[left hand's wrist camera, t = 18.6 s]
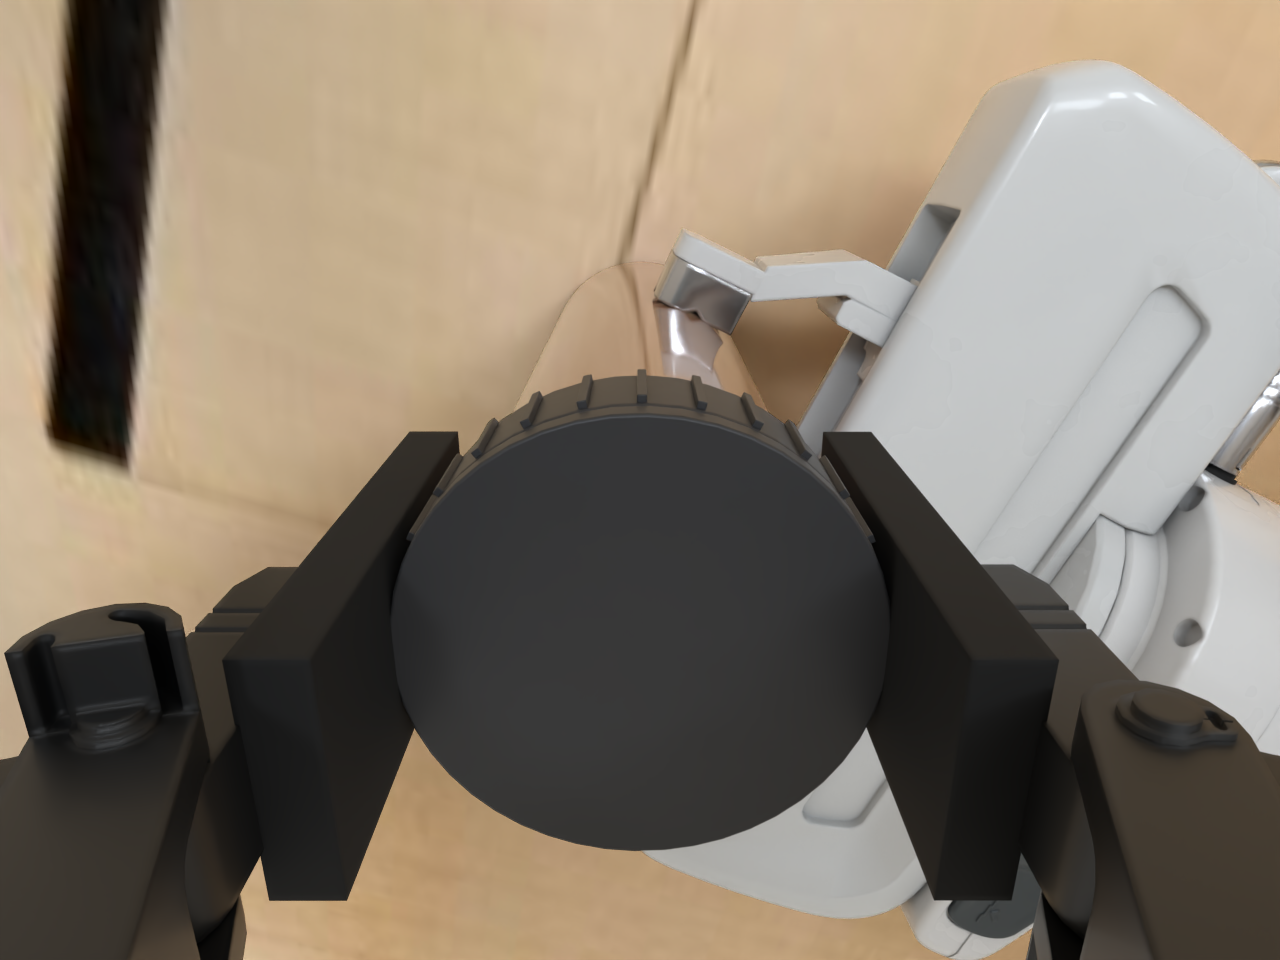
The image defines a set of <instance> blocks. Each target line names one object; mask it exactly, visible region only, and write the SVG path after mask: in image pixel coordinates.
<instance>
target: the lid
mask: <svg viewBox="0 0 1280 960" xmlns="http://www.w3.org/2000/svg"><path fill="white" fill-rule="evenodd" d="M433 494H434V495H431V497H430V499H429V500H428V502H427V504H426V505H425V507H424V509H423V510H422V512H421V514H420V515H419V517H418V518H417V520H416V522H415V523H414V525H413V527H412V528H411V530H410V532H409V534H408V536H407V538H406V539H407V540H409V541H411V544H410V546H409V548H408V550H407V552H406V554H405V556H404V558H403V560H402V563H401V566H400V570H399V573H398V576H397V580H396V583H395V586H394V590H393V596H392V603H391V610H390V623H391V632H392V642H393V650H394V659H395V668H396V676H397V683H398V690H399V693H400V696H401V699H402V702H403V705H404V707H405V709H406V711H407V713H408V715H409V717H410V719H411V722H412V724H413V726H414V728H415V730H416V731H417V733H418V734H419V736H420V737H421V739H422V740H423V742H424V743H425V745H426V746H427V748H428V749H429V751H430V752H431V754H432V755H433V756H434V757H435V758H436V760H437V761H438V762H439V763H440V764H441V765H442V766H443V768H444V769H445V770H446V771H447V772H448V773H449V774H450V775H451V776H452V777H453V778H454V779H455V780H456V781H457V782H458V783H459V784H461V785H462V786H463V787H464V788H465V789H466V790H467V791H468V792H470V793H471V794H472V795H473V796H475V797H476V798H478V799H479V800H480V801H482V802H483V803H485V804H486V805H488V806H489V807H490V808H492V809H493V810H495V811H497V812H498V813H500V814H502V815H504V816H506V817H508V818H509V819H511V820H513V821H515V822H517V823H519V824H521V825H523V826H525V827H528V828H530V829H533V830H535V831H538V832H540V833H543V834H545V835H548V836H551V837H554V838H558V839H561V840H565V841H568V842H572V843H575V844H580V845H586V846H592V847H598V848H603V849H614V850H628V851H650V850H669V849H676V848H683V847H691V846H696V845H700V844H704V843H709V842H713V841H717V840H721V839H724V838H727V837H730V836H733V835H735V834H738V833H741V832H744V831H746V830H749V829H752V828H754V827H756V826H758V825H760V824H762V823H764V822H766V821H768V820H770V819H772V818H774V817H776V816H778V815H779V814H781V813H782V812H784V811H786V810H787V809H789V808H790V807H792V806H793V805H795V804H797V803H798V802H800V801H801V800H802V799H804V798H805V797H806V796H807V795H809V794H810V793H811V792H812V791H814V790H815V789H816V788H817V787H818V786H820V785H821V784H822V783H823V782H824V781H825V780H826V779H827V778H828V777H829V776H830V775H831V774H832V773H833V772H834V771H835V770H836V769H837V768H838V767H839V766H840V765H841V764H842V762H843V761H844V760H845V759H846V757H847V756H848V755H849V753H850V752H851V750H852V749H853V748H854V746H855V745H856V744H857V742H858V741H859V740H860V738H861V736H862V734H863V733H864V731H865V729H866V727H867V725H868V724H869V722H870V720H871V718H872V716H873V714H874V712H875V709H876V707H877V704H878V701H879V699H880V696H881V693H882V691H883V684H884V676H885V668H886V660H887V651H888V643H889V634H890V623H891V610H890V600H889V596H888V592H887V588H886V583H885V579H884V575H883V572H882V569H881V567H880V564H879V562H878V559H877V557H876V554H875V552H874V549H873V547H872V545H871V544H872V543H874V542H875V538H874V536H873V534H872V532H871V531H870V529H869V527H868V526H867V524H866V522H865V521H864V519H863V517H862V516H861V514H860V513H859V511H858V509H857V508H856V506H855V504H854V503H853V501H852V499H851V498H850V497H849V496H850V494H849V492H848V491H847V489H846V487H845V486H844V484H843V483H842V481H841V479H840V478H839V476H838V474H837V473H836V471H835V469H834V468H833V466H832V465H831V463H830V461H829V460H828V459H827V457H826V456H825V455H824V456H822V457H821V458H820V459H819V458H818V457H817V456H816V454H815V453H814V452H813V451H812V449H811V448H810V447H809V446H808V445H807V444H806V443H805V441H804V440H803V438H802V436H801V434H800V433H799V431H798V429H797V427H796V425H795V424H794V423H793V422H792V421H790V420H788V421H787V422H786V423H785V424H784V423H783V422H781V421H780V420H778V419H777V418H775V417H774V416H773V415H771V414H770V413H768V412H767V411H765V410H764V409H762V408H761V407H759V406H757V405H755V403H754V400H753V398H752V396H751V395H750V394H748V393H745V392H743V394H742V396H741V397H739V396H737V395H735V394H732V393H730V392H727V391H724V390H721V389H718V388H716V387H713V386H710V385H707V384H703V383H702V380H701V377H700V376H696V375H692V378H691V381H689V380H684V379H680V378H672V377H661V376H650V375H646V369H638V370H637V376H615V377H609V378H603V379H597V380H593V378H592V375H591V374H590V375H585V376H583V379H582V382H581V383H579V384H575V385H572V386H569V387H565V388H562V389H559V390H556V391H553V392H551V393H549V394H547V395H545V396H542V394H541V392H540V391H538V392H536V393H533V394H532V396H531V398H530V400H529V403H527V404H526V405H524V406H522V407H521V408H519V409H518V410H516V411H515V412H513V413H511V414H510V415H508V416H507V417H505V418H503V419H502V420H501V421H500V422H498V421H497V420H496V419H495V418H493V419H492V420H490V421H489V422H488V424H487V425H486V427H485V429H484V431H483V433H482V434H481V436H480V438H479V440H478V441H477V442H476V443H475V444H474V445H473V446H472V448H471V449H470V450H469V451H468V452H467V453H466V454H465V455H464V456H461V455H460V454H459V453H457V455H456V456H455V457H454V459H453V460H452V462H451V463H450V465H449V467H448V468H447V470H446V472H445V473H444V475H443V477H442V478H441V480H440V481H439V483H438V485H437V486H436V488H435V490H434V491H433Z"/></svg>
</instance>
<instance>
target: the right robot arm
mask: <svg viewBox="0 0 1280 960" xmlns="http://www.w3.org/2000/svg"><path fill="white" fill-rule="evenodd" d="M654 296H655V297H656V298H657V299H658V300H660V301H661V302H663V303H665V304H666V305H668V306H670V307H672V308H674V309H677V310H680V311H682V312H690V311H697V313H698V315H699V317H700V319H701V320H702V321H704V322H705V323H707V324H708V325H709V326H711V327H713V328H716V329H718V330H720V331H722V332H724V333H726V334H728V335H731V333H732V331H733V330H734V328H735V326H736V324H737V322H738V320H739V318H740V317H741V315H742V313H743V311H744V309H745V307H746V306H747V304H748V302H749V300H750V301H751V302H757V301H772V300H787V299H802V298H817V297H818V299H817V306H818V308H819V309H820V310H821V311H822V312H823V313H825V314H826V315H827V316H828V317H829V318H830V319H832V320H833V321H834V322H835V323H836V324H837V325H839V326H841V327H843V328H845V329H847V330H849V331H850V332H849V334H848V336H847V338H846V339H845V341H844V343H843V345H842V346H841V348H840V350H839V352H838V353H837V355H836V357H835V359H834V361H833V362H832V364H831V366H830V368H829V369H828V371H827V373H826V375H825V377H824V378H823V380H822V382H821V384H820V385H819V387H818V389H817V391H816V393H815V394H814V396H813V398H812V400H811V401H810V403H809V405H808V407H807V408H806V410H805V412H804V414H803V416H802V417H801V419H800V421H799V423H798V424H797V426H796V427H797V429H798V431H799V433H800V434H801V436H802V438H803V440H804V441H805V443H806V444H807V445H808V446H809V447H810V448H811V449H812V451H813V452H814V453H815V454H816V456H817V457H818V458H819V459H820V458H821V452H822V439H823V432H872V433H873V434H874V436H875V437H876V438H877V439H878V441H879V442H880V443H881V444H882V445H883V447H884V448H885V449H886V450H887V451H888V453H889V454H890V455H891V456H892V458H893V459H894V460H895V461H896V462H897V464H898V465H899V466H900V467H901V468H902V470H903V471H904V472H905V473H906V475H907V476H908V477H909V478H910V479H911V481H912V482H913V483H914V484H915V485H916V487H917V488H918V489H919V490H920V491H921V493H922V494H923V495H924V496H925V498H926V499H927V500H928V501H929V502H930V504H931V505H932V506H933V507H934V508H935V510H936V511H937V512H938V513H939V515H940V516H941V517H942V518H943V519H944V521H945V522H946V523H947V524H948V525H949V527H950V528H951V529H952V530H953V532H954V533H955V534H956V535H957V536H958V538H959V539H960V540H961V541H962V542H963V544H964V545H965V546H966V547H967V549H968V550H969V551H970V552H971V553H972V555H973V556H974V557H975V558H976V559H977V561H978V562H979V563H980V564H1014V565H1016V566H1017V567H1019V568H1021V569H1023V570H1025V571H1026V572H1028V573H1030V574H1032V575H1034V576H1035V577H1037V578H1039V579H1041V580H1043V581H1044V582H1046V583H1048V584H1049V585H1050V586H1051V587H1052V588H1053V589H1054V590H1055V592H1056V593H1057V594H1058V595H1059V596H1060V597H1061V598H1062V599H1063V600H1064V601H1065V602H1066V603H1067V604H1068V605H1069V610H1073V611H1074V612H1075V613H1076V614H1077V615H1078V616H1079V617H1080V618H1081V619H1082V620H1083V621H1084V622H1085V623H1086V627H1087V629H1091V630H1092V631H1093V632H1094V633H1095V634H1096V635H1097V636H1098V637H1099V638H1100V639H1101V640H1102V641H1103V642H1104V643H1105V644H1106V646H1107V647H1108V648H1109V649H1110V650H1111V651H1112V652H1113V653H1114V654H1115V655H1116V656H1117V657H1118V658H1119V659H1120V660H1121V661H1122V663H1123V664H1124V665H1125V666H1126V667H1127V668H1128V669H1129V670H1130V671H1131V672H1132V673H1133V674H1134V675H1135V676H1136V677H1137V678H1138V679H1139V681H1148V682H1153V683H1157V684H1161V685H1165V686H1170V687H1174V688H1178V689H1180V690H1183V691H1185V692H1188V693H1190V694H1193V695H1195V696H1197V697H1200V698H1202V699H1205V700H1207V701H1209V702H1211V703H1212V704H1214V705H1215V706H1217V707H1219V708H1220V709H1222V710H1223V711H1225V712H1226V713H1228V714H1229V715H1231V716H1233V717H1234V718H1235V719H1236V720H1237V721H1238V722H1239V723H1240V724H1241V726H1242V727H1243V728H1244V729H1245V730H1246V731H1247V732H1248V733H1249V734H1250V736H1251V737H1252V739H1253V741H1254V742H1255V744H1256V746H1257V748H1258V749H1259V751H1261V752H1265V753H1269V754H1273V755H1278V756H1280V505H1279V504H1277V503H1275V502H1273V501H1271V500H1269V499H1267V498H1265V497H1263V496H1261V495H1259V494H1257V493H1255V492H1253V491H1251V490H1249V489H1247V488H1244V487H1242V486H1240V485H1239V484H1237V481H1236V480H1234V479H1235V477H1236V476H1237V475H1238V474H1239V473H1240V471H1241V469H1243V467H1244V466H1245V465H1246V464H1247V462H1248V461H1249V460H1250V458H1251V457H1252V456H1253V454H1254V453H1255V452H1256V450H1257V449H1258V448H1259V447H1260V445H1261V444H1262V443H1263V441H1264V440H1265V439H1266V437H1267V436H1268V435H1269V433H1270V432H1271V431H1272V429H1273V428H1274V427H1275V426H1276V424H1277V423H1278V421H1279V420H1280V162H1278V161H1272V160H1251V159H1250V158H1249V157H1248V156H1247V155H1246V154H1245V153H1243V152H1242V151H1241V150H1240V149H1239V148H1237V147H1236V146H1235V145H1234V144H1233V143H1232V142H1230V141H1229V140H1228V139H1227V138H1226V137H1224V136H1223V135H1222V134H1221V133H1220V132H1218V131H1217V130H1216V129H1215V128H1213V127H1212V126H1211V125H1209V124H1208V123H1207V122H1206V121H1204V120H1203V119H1202V118H1200V117H1199V116H1198V115H1196V114H1195V113H1194V112H1192V111H1191V110H1190V109H1188V108H1187V107H1186V106H1184V105H1183V104H1182V103H1180V102H1179V101H1178V100H1176V99H1175V98H1173V97H1172V96H1170V95H1169V94H1167V93H1166V92H1164V91H1163V90H1162V89H1160V88H1159V87H1157V86H1156V85H1154V84H1153V83H1151V82H1150V81H1148V80H1147V79H1145V78H1143V77H1142V76H1140V75H1139V74H1137V73H1135V72H1134V71H1132V70H1130V69H1128V68H1126V67H1124V66H1122V65H1120V64H1117V63H1114V62H1111V61H1106V60H1094V59H1087V60H1074V61H1068V62H1063V63H1057V64H1052V65H1048V66H1045V67H1042V68H1038V69H1035V70H1032V71H1029V72H1026V73H1024V74H1021V75H1018V76H1015V77H1013V78H1010V79H1007V80H1005V81H1002V82H999V83H998V84H996V85H994V86H993V87H991V88H990V89H989V90H988V91H987V92H986V93H985V94H984V96H983V97H982V99H981V100H980V102H979V103H978V105H977V107H976V109H975V110H974V112H973V114H972V116H971V117H970V119H969V121H968V123H967V125H966V126H965V128H964V130H963V132H962V133H961V135H960V137H959V139H958V141H957V142H956V144H955V146H954V148H953V149H952V151H951V153H950V155H949V157H948V158H947V160H946V162H945V164H944V165H943V167H942V169H941V171H940V172H939V174H938V176H937V178H936V180H935V181H934V183H933V185H932V187H931V188H930V190H929V192H928V194H927V196H926V197H925V199H924V201H923V203H922V204H921V206H920V208H919V210H918V212H917V213H916V215H915V217H914V219H913V220H912V222H911V224H910V226H909V227H908V229H907V231H906V233H905V235H904V236H903V238H902V240H901V242H900V243H899V245H898V247H897V249H896V251H895V252H894V254H893V256H892V258H891V259H890V261H889V263H888V265H887V267H886V268H885V269H883V268H881V267H879V266H877V265H875V264H873V263H871V262H869V261H867V260H865V259H863V258H861V257H859V256H856V255H854V254H852V253H850V252H848V251H846V250H844V249H838V250H827V251H816V252H804V253H793V254H781V255H770V256H758V257H756V259H755V260H754V262H753V261H751V260H749V259H747V258H745V257H743V256H741V255H739V254H737V253H735V252H733V251H731V250H729V249H727V248H725V247H723V246H721V245H719V244H717V243H715V242H713V241H711V240H709V239H707V238H705V237H703V236H701V235H699V234H697V233H694V232H692V231H689V230H687V229H684V228H682V229H681V231H680V233H679V235H678V237H677V239H676V242H675V244H674V246H673V248H672V250H671V252H670V254H669V256H668V258H667V261H666V263H665V265H664V267H663V270H662V272H661V274H660V276H659V278H658V281H657V283H656V285H655V287H654ZM642 852H643V853H644V854H646V855H647V856H648V857H650V858H652V859H653V860H655V861H657V862H659V863H661V864H663V865H665V866H667V867H669V868H671V869H674V870H676V871H679V872H681V873H684V874H687V875H689V876H692V877H694V878H697V879H700V880H702V881H705V882H707V883H710V884H713V885H716V886H719V887H722V888H725V889H727V890H730V891H733V892H736V893H739V894H742V895H746V896H749V897H752V898H755V899H758V900H761V901H764V902H768V903H771V904H775V905H778V906H782V907H785V908H788V909H792V910H795V911H799V912H803V913H807V914H812V915H817V916H822V917H829V918H836V919H858V918H866V917H872V916H876V915H879V914H883V913H885V912H888V911H890V910H892V909H894V908H896V907H898V906H900V907H901V909H902V911H903V913H904V915H905V917H906V920H907V922H908V924H909V926H910V928H911V930H912V932H913V934H914V936H915V938H916V939H917V941H918V942H919V943H920V944H921V945H923V946H924V947H926V948H927V949H929V950H931V951H933V952H935V953H937V954H940V955H942V956H945V957H948V958H951V959H955V960H980V959H983V958H986V957H988V956H990V955H992V954H994V953H996V952H997V951H999V950H1001V949H1002V948H1004V947H1005V946H1007V945H1008V944H1010V943H1011V942H1013V941H1014V940H1016V939H1017V938H1019V937H1020V936H1022V935H1023V934H1025V933H1026V932H1028V931H1029V930H1031V929H1032V928H1033V924H1034V919H1035V915H1036V910H1037V905H1038V901H1039V896H1040V891H1041V888H1040V886H1039V884H1038V882H1037V881H1036V879H1035V877H1034V875H1033V873H1032V871H1031V869H1030V868H1029V866H1028V864H1027V862H1026V860H1025V858H1024V857H1023V855H1022V853H1021V856H1020V861H1019V866H1018V871H1017V876H1016V881H1015V886H1014V891H1013V896H1012V901H934V899H933V897H932V894H931V891H930V889H929V886H928V884H927V881H926V879H925V876H924V874H923V871H922V868H921V866H920V863H919V861H918V858H917V856H916V853H915V851H914V848H913V846H912V843H911V840H910V838H909V835H908V833H907V830H906V828H905V825H904V823H903V820H902V817H901V815H900V812H899V810H898V807H897V805H896V802H895V800H894V797H893V794H892V792H891V789H890V787H889V784H888V782H887V779H886V777H885V774H884V771H883V769H882V766H881V764H880V761H879V759H878V756H877V754H876V751H875V748H874V746H873V743H872V741H871V738H870V736H869V733H868V731H867V728H866V729H865V731H864V733H863V734H862V736H861V738H860V740H859V741H858V742H857V744H856V745H855V746H854V748H853V749H852V750H851V752H850V753H849V755H848V756H847V757H846V759H845V760H844V761H843V762H842V764H841V765H840V766H839V767H838V768H837V769H836V770H835V771H834V772H833V773H832V774H831V775H830V776H829V777H828V778H827V779H826V780H825V781H824V782H823V783H822V784H821V785H820V786H818V787H817V788H816V789H815V790H814V791H812V792H811V793H810V794H809V795H807V796H806V797H805V798H804V799H802V800H801V801H800V802H798V803H797V804H795V805H793V806H792V807H790V808H789V809H787V810H786V811H784V812H782V813H781V814H779V815H778V816H776V817H774V818H772V819H770V820H768V821H766V822H764V823H762V824H760V825H758V826H756V827H754V828H752V829H749V830H746V831H744V832H741V833H738V834H735V835H733V836H730V837H727V838H724V839H721V840H717V841H713V842H709V843H704V844H700V845H696V846H691V847H683V848H676V849H669V850H650V851H642Z"/></svg>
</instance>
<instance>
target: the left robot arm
mask: <svg viewBox="0 0 1280 960" xmlns="http://www.w3.org/2000/svg"><path fill="white" fill-rule="evenodd" d="M457 453H459V440H458V432H409V433H408V434H407V436H406V437H405V438H404V439H403V440H402V442H401V443H400V444H399V445H398V447H397V448H396V449H395V450H394V451H393V453H392V454H391V455H390V456H389V457H388V459H387V460H386V461H385V462H384V464H383V465H382V466H381V467H380V468H379V470H378V471H377V472H376V473H375V474H374V476H373V477H372V478H371V479H370V481H369V482H368V483H367V484H366V485H365V487H364V488H363V489H362V490H361V491H360V493H359V494H358V495H357V496H356V498H355V499H354V500H353V501H352V502H351V504H350V505H349V506H348V507H347V508H346V510H345V511H344V512H343V513H342V515H341V516H340V517H339V518H338V519H337V521H336V522H335V523H334V524H333V525H332V527H331V528H330V529H329V530H328V532H327V533H326V534H325V535H324V536H323V538H322V539H321V540H320V541H319V542H318V544H317V545H316V546H315V547H314V549H313V550H312V551H311V552H310V553H309V555H308V556H307V557H306V558H305V559H304V561H303V562H302V563H301V564H300V566H299V567H268V568H266V569H264V570H262V571H260V572H259V573H257V574H255V575H253V576H251V577H250V578H248V579H246V580H244V581H242V582H241V583H239V584H237V585H235V586H234V587H233V588H232V589H231V590H230V591H229V592H228V593H227V594H226V595H225V596H224V597H223V598H222V600H221V601H220V602H219V603H218V604H217V605H216V606H215V607H214V608H213V613H208V614H207V616H206V617H205V618H204V619H203V620H202V621H201V622H200V623H199V624H198V625H197V626H196V627H195V632H191V633H190V634H189V635H188V636H187V637H185V632H184V627H183V622H182V618H181V616H180V615H179V614H177V613H176V612H175V611H173V610H172V609H170V608H169V607H166V606H160V605H154V604H149V603H130V604H114V605H109V606H104V607H99V608H94V609H89V610H83V611H80V612H77V613H74V614H71V615H68V616H66V617H63V618H60V619H57V620H54V621H51V622H49V623H47V624H45V625H43V626H41V627H39V628H38V629H36V630H34V631H32V632H30V633H28V634H26V635H25V636H23V637H21V638H20V639H19V640H18V641H17V642H16V643H15V644H14V645H13V646H12V647H10V648H9V649H8V650H7V651H6V652H5V653H4V654H5V658H6V661H7V664H8V668H9V671H10V674H11V678H12V681H13V684H14V688H15V691H16V694H17V698H18V701H19V704H20V708H21V711H22V714H23V718H24V721H25V724H26V728H27V731H28V734H29V739H28V740H27V742H26V744H25V746H24V747H23V749H22V751H21V753H20V754H19V756H17V757H13V758H8V759H3V760H0V960H243V955H244V949H245V942H246V935H247V931H246V923H245V915H244V910H243V905H242V901H241V896H240V893H241V891H242V889H243V887H244V885H245V883H246V882H247V880H248V878H249V876H250V874H251V872H252V870H253V869H254V867H255V865H256V863H257V861H258V859H259V857H260V856H261V861H262V866H263V871H264V876H265V881H266V886H267V891H268V896H269V901H347V899H348V896H349V894H350V891H351V889H352V886H353V884H354V881H355V879H356V876H357V873H358V871H359V868H360V866H361V863H362V861H363V858H364V856H365V853H366V850H367V848H368V845H369V843H370V840H371V838H372V835H373V833H374V830H375V827H376V825H377V822H378V820H379V817H380V815H381V812H382V810H383V807H384V804H385V802H386V799H387V797H388V794H389V792H390V789H391V787H392V784H393V781H394V779H395V776H396V774H397V771H398V769H399V766H400V764H401V761H402V758H403V756H404V753H405V751H406V748H407V746H408V743H409V741H410V738H411V735H412V733H413V730H414V726H413V724H412V722H411V719H410V717H409V715H408V713H407V711H406V709H405V707H404V705H403V702H402V699H401V696H400V693H399V690H398V683H397V676H396V668H395V659H394V650H393V642H392V632H391V623H390V610H391V603H392V596H393V590H394V586H395V583H396V580H397V576H398V573H399V570H400V566H401V563H402V560H403V558H404V556H405V554H406V552H407V550H408V548H409V546H410V544H411V541H409V540H407V539H406V538H407V536H408V534H409V532H410V530H411V528H412V527H413V525H414V523H415V522H416V520H417V518H418V517H419V515H420V514H421V512H422V510H423V509H424V507H425V505H426V504H427V502H428V500H429V499H430V497H431V495H434V494H433V491H434V490H435V488H436V486H437V485H438V483H439V481H440V480H441V478H442V477H443V475H444V473H445V472H446V470H447V468H448V467H449V465H450V463H451V462H452V460H453V459H454V457H455V456H456V455H457ZM459 454H460V453H459ZM824 455H825V456H826V457H827V459H828V460H829V461H830V463H831V465H832V466H833V468H834V469H835V471H836V473H837V474H838V476H839V478H840V479H841V481H842V483H843V484H844V486H845V487H846V489H847V491H848V492H849V494H850V496H849V497H850V498H851V499H852V501H853V503H854V504H855V506H856V508H857V509H858V511H859V513H860V514H861V516H862V517H863V519H864V521H865V522H866V524H867V526H868V527H869V529H870V531H871V532H872V534H873V536H874V538H875V542H874V543H872V544H871V545H872V547H873V549H874V552H875V554H876V557H877V559H878V562H879V564H880V567H881V569H882V572H883V575H884V579H885V583H886V588H887V592H888V596H889V600H890V610H891V623H890V634H889V643H888V651H887V660H886V668H885V676H884V684H883V691H882V693H881V696H880V699H879V701H878V704H877V707H876V709H875V712H874V714H873V716H872V718H871V720H870V722H869V724H868V725H867V727H866V728H867V731H868V733H869V736H870V738H871V741H872V743H873V746H874V748H875V751H876V754H877V756H878V759H879V761H880V764H881V766H882V769H883V771H884V774H885V777H886V779H887V782H888V784H889V787H890V789H891V792H892V794H893V797H894V800H895V802H896V805H897V807H898V810H899V812H900V815H901V817H902V820H903V823H904V825H905V828H906V830H907V833H908V835H909V838H910V840H911V843H912V846H913V848H914V851H915V853H916V856H917V858H918V861H919V863H920V866H921V868H922V871H923V874H924V876H925V879H926V881H927V884H928V886H929V889H930V891H931V894H932V897H933V899H934V901H1012V896H1013V891H1014V886H1015V881H1016V876H1017V871H1018V866H1019V861H1020V856H1021V853H1022V855H1023V857H1024V858H1025V860H1026V862H1027V864H1028V866H1029V868H1030V869H1031V871H1032V873H1033V875H1034V877H1035V879H1036V881H1037V882H1038V884H1039V886H1040V888H1041V891H1040V896H1039V901H1038V905H1037V910H1036V915H1035V919H1034V924H1033V929H1032V934H1031V938H1030V943H1029V948H1028V952H1027V957H1026V960H1280V756H1278V755H1273V754H1269V753H1265V752H1261V751H1259V749H1258V748H1257V746H1256V744H1255V742H1254V741H1253V739H1252V737H1251V736H1250V734H1249V733H1248V732H1247V731H1246V730H1245V729H1244V728H1243V727H1242V726H1241V724H1240V723H1239V722H1238V721H1237V720H1236V719H1235V718H1234V717H1233V716H1231V715H1229V714H1228V713H1226V712H1225V711H1223V710H1222V709H1220V708H1219V707H1217V706H1215V705H1214V704H1212V703H1211V702H1209V701H1207V700H1205V699H1202V698H1200V697H1197V696H1195V695H1193V694H1190V693H1188V692H1185V691H1183V690H1180V689H1178V688H1174V687H1170V686H1165V685H1161V684H1157V683H1153V682H1148V681H1139V679H1138V678H1137V677H1136V676H1135V675H1134V674H1133V673H1132V672H1131V671H1130V670H1129V669H1128V668H1127V667H1126V666H1125V665H1124V664H1123V663H1122V661H1121V660H1120V659H1119V658H1118V657H1117V656H1116V655H1115V654H1114V653H1113V652H1112V651H1111V650H1110V649H1109V648H1108V647H1107V646H1106V644H1105V643H1104V642H1103V641H1102V640H1101V639H1100V638H1099V637H1098V636H1097V635H1096V634H1095V633H1094V632H1093V631H1092V630H1091V629H1087V627H1086V623H1085V622H1084V621H1083V620H1082V619H1081V618H1080V617H1079V616H1078V615H1077V614H1076V613H1075V612H1074V611H1073V610H1069V605H1068V604H1067V603H1066V602H1065V601H1064V600H1063V599H1062V598H1061V597H1060V596H1059V595H1058V594H1057V593H1056V592H1055V590H1054V589H1053V588H1052V587H1051V586H1050V585H1049V584H1048V583H1046V582H1044V581H1043V580H1041V579H1039V578H1037V577H1035V576H1034V575H1032V574H1030V573H1028V572H1026V571H1025V570H1023V569H1021V568H1019V567H1017V566H1016V565H1014V564H980V563H979V562H978V561H977V559H976V558H975V557H974V556H973V555H972V553H971V552H970V551H969V550H968V549H967V547H966V546H965V545H964V544H963V542H962V541H961V540H960V539H959V538H958V536H957V535H956V534H955V533H954V532H953V530H952V529H951V528H950V527H949V525H948V524H947V523H946V522H945V521H944V519H943V518H942V517H941V516H940V515H939V513H938V512H937V511H936V510H935V508H934V507H933V506H932V505H931V504H930V502H929V501H928V500H927V499H926V498H925V496H924V495H923V494H922V493H921V491H920V490H919V489H918V488H917V487H916V485H915V484H914V483H913V482H912V481H911V479H910V478H909V477H908V476H907V475H906V473H905V472H904V471H903V470H902V468H901V467H900V466H899V465H898V464H897V462H896V461H895V460H894V459H893V458H892V456H891V455H890V454H889V453H888V451H887V450H886V449H885V448H884V447H883V445H882V444H881V443H880V442H879V441H878V439H877V438H876V437H875V436H874V434H873V433H872V432H823V439H822V452H821V457H822V456H824Z"/></svg>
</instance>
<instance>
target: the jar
mask: <svg viewBox="0 0 1280 960" xmlns="http://www.w3.org/2000/svg"><path fill="white" fill-rule="evenodd" d="M663 267H664V265H662V264H657V263H651V262H630V263H624V264H619V265H616V266H612V267H609V268H607V269H605V270H603V271H601V272H599V273H597V274H595V275H594V276H592V277H591V278H589V279H588V280H587V281H586V282H584V283H583V284H582V285H581V286H580V287H579V288H578V289H577V290H576V291H575V292H574V293H573V295H572V296H571V297H570V299H569V300H568V302H567V303H566V305H565V307H564V309H563V311H562V313H561V315H560V317H559V319H558V321H557V323H556V325H555V327H554V329H553V331H552V333H551V335H550V337H549V339H548V341H547V343H546V346H545V348H544V350H543V352H542V354H541V356H540V358H539V360H538V362H537V364H536V366H535V368H534V370H533V372H532V374H531V376H530V378H529V380H528V382H527V384H526V386H525V388H524V390H523V392H522V394H521V396H520V398H519V400H518V402H517V404H516V406H515V409H514V411H513V412H515V411H516V410H518V409H519V408H521V407H522V406H524V405H526V404H527V403H529V400H530V398H531V396H532V394H533V393H536V392H538V391H540V392H541V394H542V396H545V395H547V394H549V393H551V392H553V391H556V390H559V389H562V388H565V387H569V386H572V385H575V384H579V383H581V382H582V379H583V376H585V375H590V374H591V375H592V378H593V380H597V379H603V378H609V377H615V376H637V370H638V369H646V375H650V376H661V377H672V378H680V379H684V380H689V381H691V378H692V375H696V376H700V377H701V380H702V383H703V384H707V385H710V386H713V387H716V388H718V389H721V390H724V391H727V392H730V393H732V394H735V395H737V396H739V397H741V396H742V394H743V392H745V393H748V394H750V395H751V396H752V398H753V400H754V403H755V405H757V406H759V407H761V408H762V409H764V410H765V411H767V412H768V410H767V408H766V406H765V404H764V402H763V400H762V398H761V396H760V394H759V392H758V390H757V388H756V386H755V384H754V382H753V380H752V378H751V376H750V374H749V372H748V370H747V368H746V366H745V363H744V361H743V359H742V357H741V355H740V353H739V351H738V349H737V347H736V345H735V343H734V341H733V339H732V337H731V335H728V334H726V333H724V332H722V331H720V330H718V329H716V328H713V327H711V326H709V325H708V324H707V323H705V322H704V321H702V320H701V319H700V317H699V315H698V313H697V311H690V312H682V311H680V310H677V309H674V308H672V307H670V306H668V305H666V304H665V303H663V302H661V301H660V300H658V299H657V298H656V297H655V296H654V287H655V285H656V283H657V281H658V278H659V276H660V274H661V272H662V270H663ZM768 413H769V412H768Z"/></svg>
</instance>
